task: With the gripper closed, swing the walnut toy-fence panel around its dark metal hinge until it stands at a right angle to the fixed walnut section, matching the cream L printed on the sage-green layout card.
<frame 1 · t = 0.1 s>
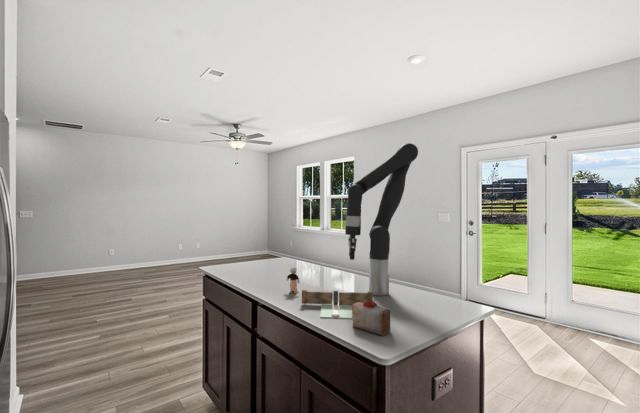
hand: (351, 258, 157), 17 cm above the counter, tool pointing down, fingers open, 8 cm apart
fixed fence section: (335, 305, 136), resting on layout card
grandmother figurine: (293, 292, 157), on the counter
hinged fence panel: (319, 297, 137), point 4 cm above the counter, hinge at 0.0°
layout card: (348, 309, 132), on the counter
food item: (370, 329, 112), on the counter
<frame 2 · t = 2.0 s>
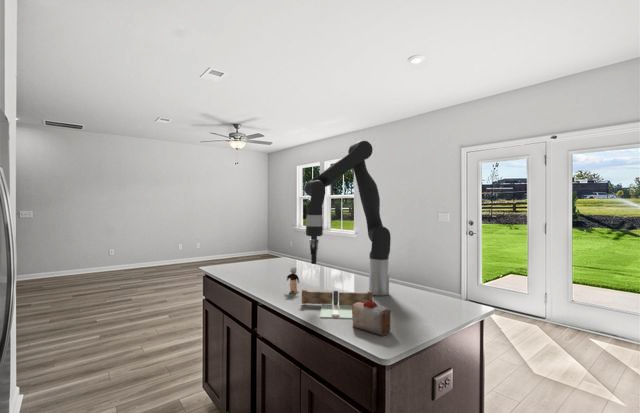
hand: (313, 263, 143), 17 cm above the counter, tool pointing down, fingers closed
nothing on the counter moved.
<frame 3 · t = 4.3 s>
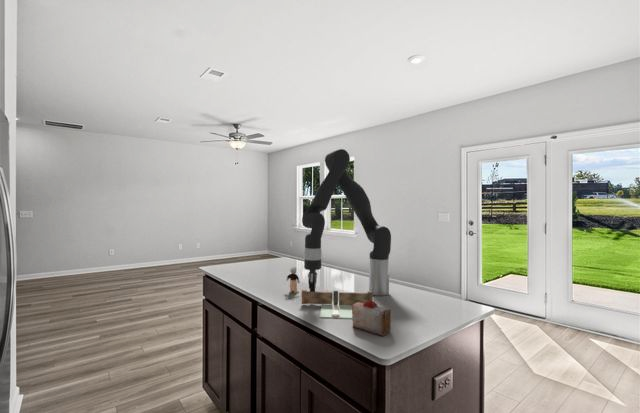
hand: (312, 297, 140), 3 cm above the counter, tool pointing down, fingers closed
hinged fence panel: (319, 297, 137), point 4 cm above the counter, hinge at 1.3°, touching gripper
everything else where it was.
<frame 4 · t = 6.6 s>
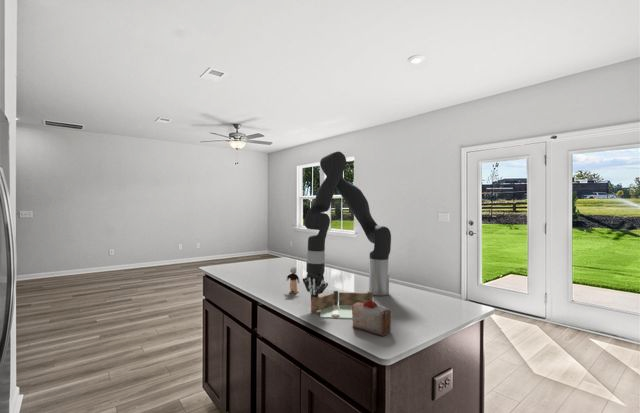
hand: (314, 303, 131), 3 cm above the counter, tool pointing down, fingers closed
hinged fence panel: (325, 301, 131), point 4 cm above the counter, hinge at 50.4°, touching gripper
everything else where it was.
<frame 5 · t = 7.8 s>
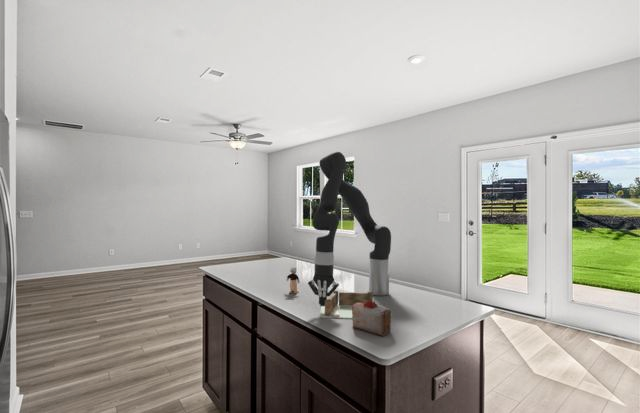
hand: (322, 305, 127), 3 cm above the counter, tool pointing down, fingers closed
hinged fence panel: (331, 302, 130), point 4 cm above the counter, hinge at 76.8°, touching gripper
everything else where it was.
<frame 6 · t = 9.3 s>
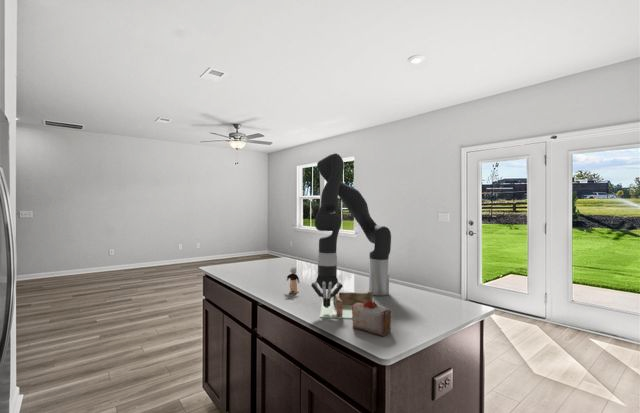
hand: (326, 307, 126), 3 cm above the counter, tool pointing down, fingers closed
hinged fence panel: (337, 302, 130), point 4 cm above the counter, hinge at 96.8°
everything else where it was.
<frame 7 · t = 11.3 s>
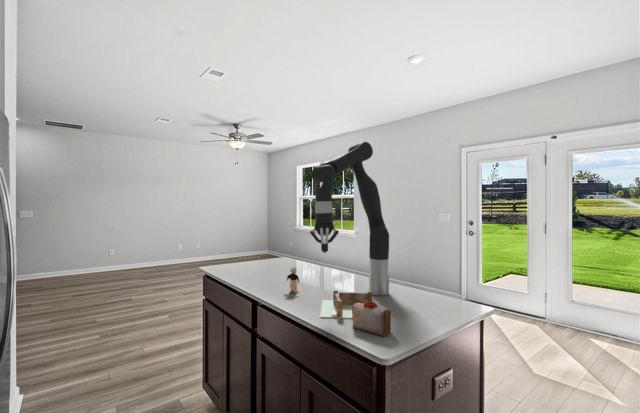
hand: (324, 252, 137), 23 cm above the counter, tool pointing down, fingers closed
nothing on the counter moved.
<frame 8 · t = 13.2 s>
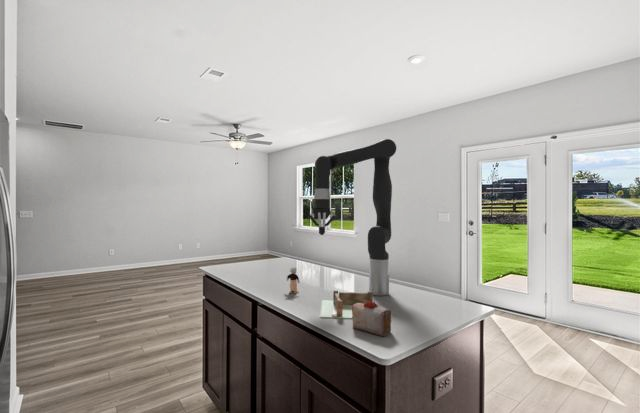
hand: (321, 234, 152), 29 cm above the counter, tool pointing down, fingers closed
nothing on the counter moved.
at the end: hinged fence panel at +97° (first picture: +0°) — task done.
